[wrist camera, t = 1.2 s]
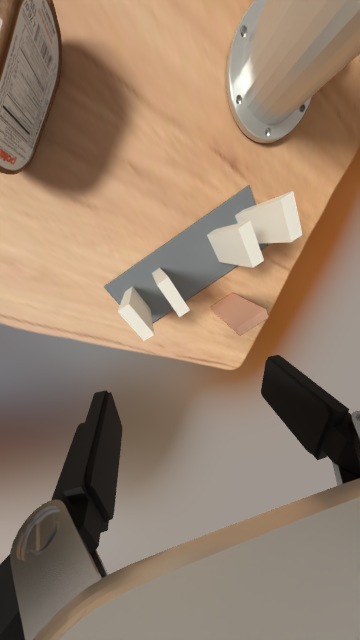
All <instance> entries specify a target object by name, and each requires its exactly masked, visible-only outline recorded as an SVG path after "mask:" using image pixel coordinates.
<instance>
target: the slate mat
mask: <svg viewBox="0 0 360 640" xmlns="http://www.w3.org/2000/svg"><path fill="white" fill-rule="evenodd" d="M254 205H256V204H255V201H254V198H253V195H252V192H251V188H250V185H249V186H247V187H246V188H244V189H243V190H241V191H240V192H239V193H237V194H236V195H234V196H233V197H231V198H230V199H229V200H227V201H226V202H224V203H223V204H221V205H220V206H219V207H217V208H216V209H214V210H213V211H211V212H210V213H209V214H207V215H206V216H204V217H203V218H201V219H200V220H199V221H197V222H196V223H194V224H193V225H191V226H190V227H189V228H187V229H186V230H184V231H183V232H181V233H180V234H179V235H177V236H176V237H174V238H173V239H171V240H170V241H169V242H167V243H166V244H164V245H163V246H161V247H160V248H159V249H157V250H156V251H154V252H153V253H151V254H150V255H149V256H147V257H146V258H144V259H143V260H141V261H140V262H139V263H137V264H136V265H134V266H133V267H131V268H130V269H129V270H127V271H126V272H124V273H123V274H121V275H120V276H118V277H117V278H116V279H114V280H113V281H111V282H110V283H108V284H107V285H106V286H104V288H105V289H106V290H107V291H108V292H109V293H110V295H111V296H112V297H113V298H114V299H115V300H116V301H117V303H118V304H119V305H120V304H121V301H122V298H123V296H124V293H125V291H127V290H128V289H130V288H131V287H132V286H133V287H134V289H135V290H136V291H137V292H138V294H139V295H140V296H141V298H142V299H143V300H144V301H145V303H146V304H147V305H148V307H149V308H150V310H151V316H152V323H153V322H155V321H156V320H158V319H159V318H161V317H162V316H164V315H165V314H167V313H168V312H170V311H171V310H173V307H172V306H171V304H170V303H169V302H168V300H167V299H166V297H165V296H164V294H163V293H162V292H161V290H160V289H159V287H158V286H157V284H156V282H155V279H154V277H153V275H152V273H153V272H154V271H156V270H157V269H158V268H160V269H161V270H162V271H163V272H164V273H165V274H166V275H167V276H168V277H169V279H170V280H171V282H172V283H173V285H174V286H175V288H176V289H177V291H178V292H179V294H180V296H181V297H182V299H183V300H184V302H185V301H186V300H187V299H189V298H190V297H192V296H193V295H195V294H196V293H198V292H199V291H201V290H202V289H204V288H205V287H207V286H208V285H210V284H211V283H213V282H214V281H216V280H217V279H219V278H220V277H221V276H223V275H224V274H226V273H227V272H229V271H230V270H232V269H233V268H235V267H236V266H238V265H234V264H228V263H222V262H219V260H218V258H217V256H216V254H215V252H214V249H213V247H212V245H211V243H210V241H209V239H208V237H207V234H209V233H210V232H212V231H213V230H215V229H218V228H222V227H226V226H230V225H234V224H238V222H237V220H236V217H235V215H236V214H238V213H239V212H241V211H242V210H244V209H246V208H249V207H252V206H254ZM267 245H268V243H260V244H259V247H260V250H261V249H263V248H264V247H266V246H267Z"/></svg>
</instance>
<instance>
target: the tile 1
mask: <svg viewBox="0 0 360 640" xmlns="http://www.w3.org/2000/svg"><path fill="white" fill-rule="evenodd" d="M118 313H119V314H120V315H121V316H122V317H123V318H124V319H125V321H126V322H127V323H128V324H129V325H130V326H131V327H132V328H133V329H134V331H135V332H136V333H137V334H138V335H139V336H140V337H141V338H142V340H143V341H145V340H147V339H148V338H150V337H151V336H153V335H154V329H153V323H152V316H151V310H150V308H149V307H148V305H147V304H146V303H145V301H144V300H143V299H142V298H141V296H140V295H139V294H138V292H137V291H136V290H135V289H134V287H133V286H132V287H131V288H130V289H128V290H127V291H125V293H124V296H123V298H122V301H121V304H120V307H119V309H118Z"/></svg>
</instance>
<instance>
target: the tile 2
mask: <svg viewBox="0 0 360 640" xmlns="http://www.w3.org/2000/svg"><path fill="white" fill-rule="evenodd" d="M152 275H153V277H154V279H155V282H156V284H157V286H158V287H159V289H160V290H161V292H162V293H163V294H164V296H165V297H166V299H167V300H168V302H169V303H170V304H171V306H172V307H173V309H174V310H175V312H176V313H177V314H178V316H179V317H181V316H182V315H184V314H185V313H187V312H188V311H190V309H189V308H188V306H187V305H186V303H185V302H184V300H183V299H182V297H181V296H180V294H179V292H178V291H177V289H176V288H175V286H174V285H173V283H172V282H171V280H170V279H169V277H168V276H167V275H166V274H165V273H164V272H163V271H162V270H161V269H160V268H158V269H157V270H156V271H154V272H153V273H152Z"/></svg>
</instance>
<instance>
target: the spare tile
mask: <svg viewBox="0 0 360 640" xmlns="http://www.w3.org/2000/svg"><path fill="white" fill-rule="evenodd" d="M211 308H212V310H213V312H214V313H215V314H216V315H217V316H218V317H219V318H220V319H222V320H223V321H224V322H225V323H226V324H227V325H228V326H229V327H231V328H232V329H233V330H234V331H235V332H236V333H237V334H238V335H240V336H241V335H243V334H244V333H246V332H247V331H249V330H250V329H252V328H253V327H255V326H256V325H258V324H259V323H261V322H262V321H264V320H265V319H267V318H268V317H269V316H268V314H267V311H266V309H265V308H263V307H260V306H258V305H256V304H254V303H252V302H250V301H248V300H246V299H244V298H242V297H240V296H238V295H236V294H234V293H231V294H229V295H228V296H226V297H225V298H223V299H222V300H220V301H219V302H217V303H216V304H214V305H213V306H211Z"/></svg>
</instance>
